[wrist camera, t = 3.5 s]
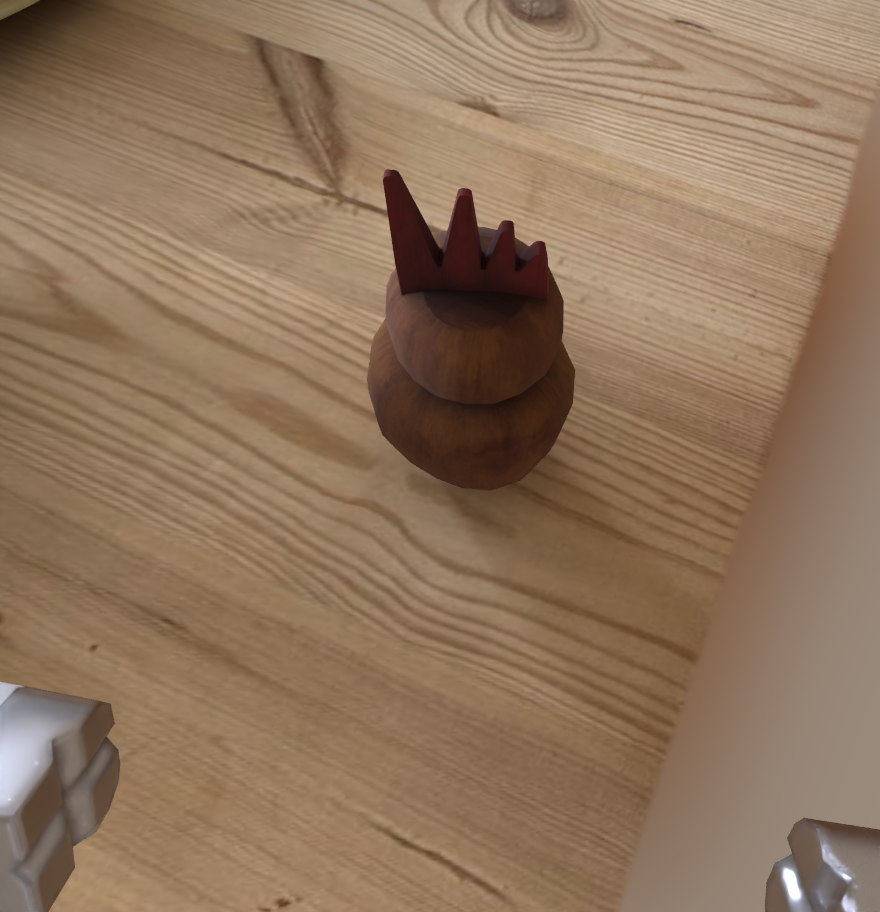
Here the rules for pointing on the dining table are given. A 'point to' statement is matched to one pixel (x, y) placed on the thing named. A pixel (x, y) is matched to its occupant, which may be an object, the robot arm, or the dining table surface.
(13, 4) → the shape sorting clock
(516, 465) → the wooden figurine
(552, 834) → the dining table surface
